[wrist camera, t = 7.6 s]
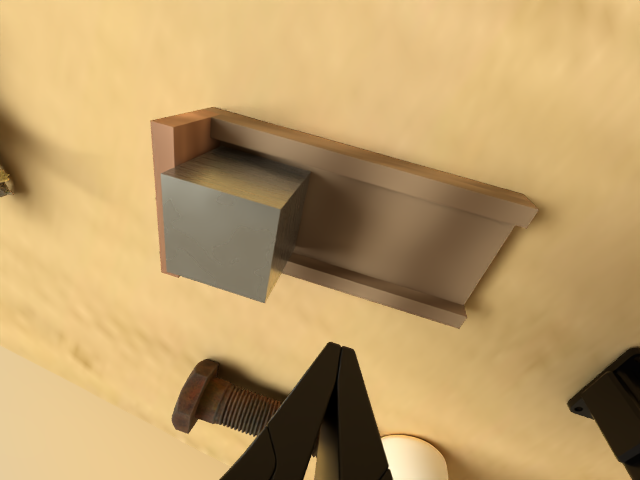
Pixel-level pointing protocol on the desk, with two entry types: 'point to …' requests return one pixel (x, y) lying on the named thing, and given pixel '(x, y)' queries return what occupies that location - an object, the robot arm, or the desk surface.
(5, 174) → the figurine
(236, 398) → the bolt
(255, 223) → the block
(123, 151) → the desk surface
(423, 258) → the track
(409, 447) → the water bottle
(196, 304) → the desk surface
